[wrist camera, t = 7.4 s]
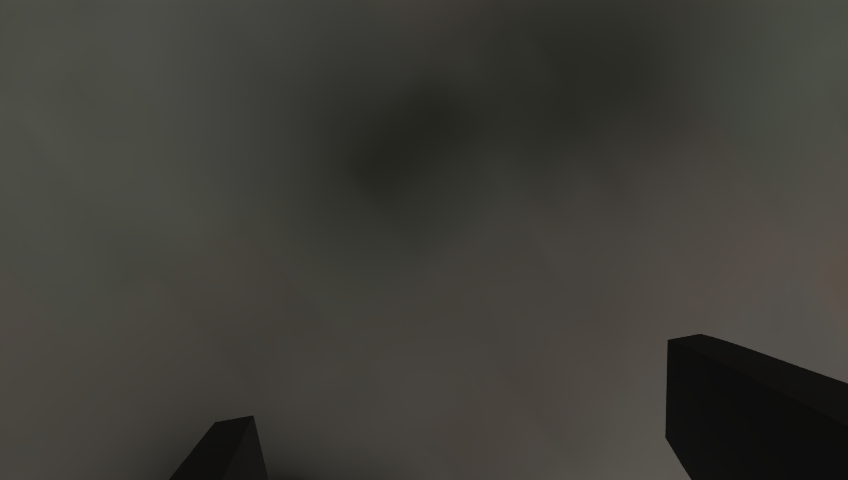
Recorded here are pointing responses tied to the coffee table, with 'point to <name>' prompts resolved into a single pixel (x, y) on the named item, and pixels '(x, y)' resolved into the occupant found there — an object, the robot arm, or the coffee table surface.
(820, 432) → the robot arm
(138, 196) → the coffee table surface
